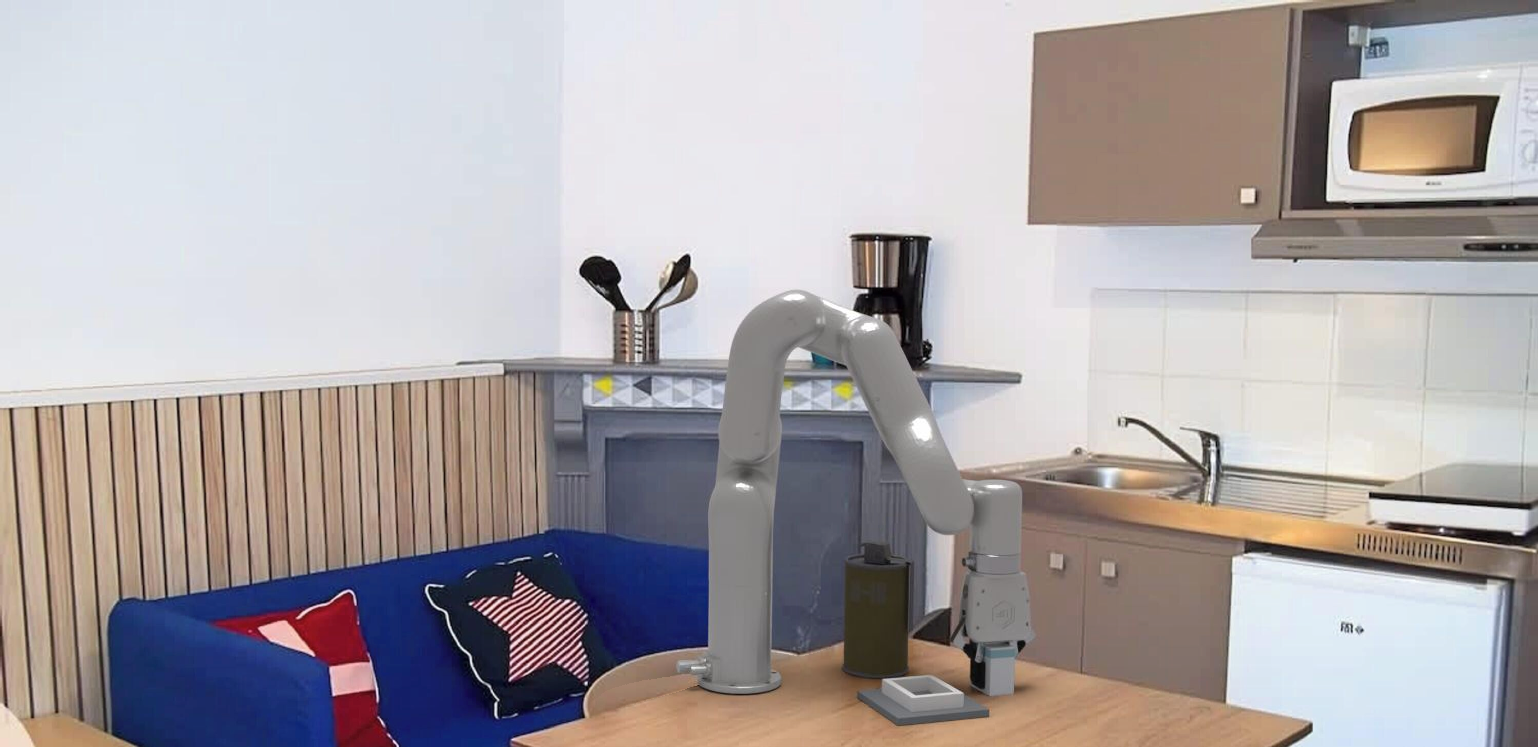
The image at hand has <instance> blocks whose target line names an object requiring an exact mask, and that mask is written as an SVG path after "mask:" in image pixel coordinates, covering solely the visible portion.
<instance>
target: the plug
mask: <svg viewBox="0 0 1538 747" xmlns="http://www.w3.org/2000/svg"><path fill="white" fill-rule="evenodd" d="M983 662H985V688H984V689H980V688H978V687H976V686H974V685H972V683H971V680H970V686H971V687H973V688H974V689H976V690H978V691H980V692H981V693H983V694H984V695H987V696H988V697H997V696H1007V695H1008V696H1009V695H1014V693H1015V671H1014V668H1015V666H1016V665H1015V663H1016V659H1015V647H1013V646H1011V645H1009V644H1007V643H1005V642H997V643H986V644H985V649H984V655H983Z"/></svg>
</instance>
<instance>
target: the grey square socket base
mask: <svg viewBox="0 0 1538 747" xmlns="http://www.w3.org/2000/svg"><path fill="white" fill-rule="evenodd" d="M856 698H857V699H858V700H860V701H862V702H863V703H864V704H866V705H867V706H869V707H870V708H872V709H873V710H875V711H876V712H877V713H879V714H881V715H882V716H884V717H885V718H886V719H888V720H889V721H891V722H892V723H894V724H895V725H896V726H909V725H918V724H929V723H939V722H947V721H948V722H949V721H958V720H959V721H960V720H968V719H979V718H987V717H989V718H990V709H989V708H987V706H984V705H982V704H980V703H979V702H977V701H975V699H974V700H973V699H972V698H970V697H969V696H967V695H965V693H964V692H962V691H961V690H959V689H958V688H957V687H956V688H955V687H953V685H950V684H948V683H947V682H945V681H943V680H942V679H940V678H938V677H937V676H935V675H933V674H927V675H926V674H925V675H914V676H903V677H902V676H900V677H895V678H884V679H881V688H872V689H861V690H856Z"/></svg>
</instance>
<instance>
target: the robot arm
mask: <svg viewBox="0 0 1538 747" xmlns="http://www.w3.org/2000/svg"><path fill="white" fill-rule="evenodd" d="M740 322H741V323H740V324H739V325H738V328H737V329H736V331H735V333H734V335H733V339H732V342H731V346H730V348H729V350H730V351H729V356H728V362H727V363H728V364H727V370H726V378H725V384H724V392H723V403H722V411H721V417H720V421H719V424H718V428H717V430H718V432H717V433H718V441H719V446H718V455H717V456H718V457H717V464H716V465H717V466H716V476H715V486H714V488H713V490H712V493H711V494H710V498H709V504H708V510H707V511H708V513H707V522H708V526H707V528H708V629H707V630H708V637H707V638H708V639H707V644H708V645H707V646H708V647H707V650H703V651H702V652H701V654H702V655H701V656H697V657H696V659H689V658H688V659H678V660H677V661H676V664H675V665H676V666H675V667H676V672H677V674H685V673H687V674H688V673H689V676H697V678H696V679H697V684H698V685H699V686H700V687H701V688H703V689H705V690H708V691H710V692H711V691H712V692H715V693H716V692H717V693H723V694H735V695H737V694H740V695H746V694H749V695H750V694H759V693H765V692H768V691H772V690H776V689H777V688H778V687H779V686H781V685H782V675H781V673H780V672H778V670H777V671H776V670H775V669H772V638H773V637H772V635H773V634H772V631H773V630H772V628H773V627H772V626H773V571H774V570H773V563H774V562H773V561H774V557H773V556H774V555H773V553H774V551H773V550H774V548H773V547H774V546H773V545H774V522H775V521H774V517H775V514H774V513H775V505H776V504H775V503H776V495H777V484H778V483H777V482H778V474H779V465H780V464H779V462H780V453H781V444H782V436H783V434H782V433H783V423H782V419H781V406H782V405H781V403H782V393H783V392H782V391H783V386H784V378H785V371H786V370H785V369H786V364H787V362H788V359H789V356H790V355H791V354H792V352H793V351H794V350H796V349H798V348H800V349H802V350H804V351H807V352H809V353H812V354H814V355H817V356H819V357H822V358H825V359H827V360H830V361H833V362H834V363H837V364H841V365H844V366H845V367H846V368H847V370H848V372H849V374H850V376H851V378H852V381H853V383H854V384H855V387H856V389H857V391H858V392H859V395H860V397H861V399H862V401H863V403H864V404H865V405H864V406H865V407H866V409H867V411H868V414H869V415H870V418H871V420H872V422H873V424H874V426H875V428H876V430H877V431H878V434H879V436H880V438H881V440H882V442H883V443H884V445H885V447H886V448H887V450H888V451H889V452H890V454H891V456H892V457H893V459H894V460H895V463H896V464H897V467H898V468H899V470H900V472H901V474H902V476H903V479H904V481H905V482H906V484H907V487H908V488H909V490H910V492H911V494H912V497H913V499H914V500H915V503H916V505H917V506H918V509H919V511H920V513H921V516H922V518H923V520H924V521H925V524H926V525H927V526H928V527H929V528H930V530H931V531H933V532H935V533H937V534H940V535H942V536H954V535H959V534H960V533H962V532H964V531H965V530H966V529H967V528H968V527H969V551H968V556H967V557H962V559H961V564H962V566H963V568H965V567H966V568H967V569H968V570H969V571H965V574H964V577H963V582H962V586H961V591H960V592H961V593H960V598H959V609H958V624H957V626H956V627H955V629H954V631H953V633H952V634H951V636H950V638H949V642H950V643H951V644H952V645H954V646H956V647H957V648H959V649H960V650H961V651H962V652H963V653H964V654H965V655H966V657H967V658H969V660H970V661H969V663H970V664H969V678H970V680H971V683H972V685H974V686H976V687H978V688H980V689H984V688H985V662H983V655H984V649H985V644H986V643H997V642H1005V643H1007V644H1009V645H1011V646H1013V647H1015V660H1017V659H1018V658H1019V654H1020V653H1021V652H1022V650H1023V649H1024V648H1025V647H1026V645H1028V644H1029V643H1030V642H1031V641H1033V640H1034V639H1035V638H1036V636H1037V634H1036V632H1035V630H1034V629H1033V627H1032V625H1031V624H1032V621H1031V618H1032V617H1031V602H1030V600H1031V598H1030V590H1029V585H1028V579H1027V575H1026V573H1025V572H1023V571H1021V560H1022V559H1021V557H1022V552H1021V551H1022V524H1023V523H1022V520H1023V519H1022V516H1023V490H1022V487H1021V486H1020V484H1018V483H1017V482H1015V481H1012V480H1005V479H982V480H972V479H965V478H964V479H963V477H962V475H961V473H960V471H959V469H958V467H957V465H956V463H955V461H954V458H953V457H952V454H951V453H950V451H949V448H948V446H947V445H946V444H947V443H946V441H945V440H944V438H943V436H942V432H941V431H940V428H939V425H938V423H937V420H936V416H935V415H934V413H933V410H932V408H931V406H930V404H929V402H928V399H927V398H926V395H925V394H924V392H923V390H922V388H921V385H920V383H919V382H918V378H917V377H916V376H915V373H914V371H913V369H912V367H911V365H910V363H909V360H908V359H907V356H906V354H905V352H904V350H903V347H901V344H900V341H899V340H898V338H897V336H896V334H895V332H894V331H893V329H892V328H891V327H890V326H889V324H887V322H885V321H883V320H881V319H879V318H877V317H873V316H870V315H867V314H864V313H861V312H858V311H855V310H852V309H850V308H848V307H845V306H843V305H841V304H838V303H836V302H832V301H830V300H828V299H825V298H823V297H821V296H818V295H816V294H813V293H811V292H809V291H806V290H803V289H789V290H787V291H786V290H785V291H784V292H781V293H778V294H776V295H774V296H772V297H770V298H768V299H766V300H764V301H762V302H761V303H759V304H758V305H756V306H755V307H753V309H751V310H750V311H749V312H748V313H747V315H746V316H745V317H744V318H743V319H742V321H740ZM964 638H968V639H969V641H968V642H967V641H966V640H965V639H964ZM1015 671H1016V670H1015V668H1014V672H1015Z"/></svg>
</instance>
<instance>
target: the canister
mask: <svg viewBox="0 0 1538 747" xmlns="http://www.w3.org/2000/svg"><path fill="white" fill-rule="evenodd" d="M859 547H860V548H861V547H862V548H863V547H864V548H863V550H864V552H863V553H859V554H853V555H852V554H851V555H847V556H846V557H844V560H843V562H844V608H843V610H844V611H843V612H844V613H843V615H844V618H843V623H844V624H843V664H842V665H841V668H842V671H843V672H845V673H846V674H848V675H852V676H855V677H859V678H867V679H881V680H882V679H889V678H899V677H902V676H905V675H906V674H908V672H909V671H910V668H909V665H908V664H909V663H908V662H909V633H911V632H912V631H913V629H914V601H915V600H914V596H915V595H914V594H915V593H914V592H915V560H914V559H910V558H908V557H905V556H901V555H896V554H892V551H891V543H890V542H889V541H875V540H866V541H864V542H862V543H861V544H859Z"/></svg>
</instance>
